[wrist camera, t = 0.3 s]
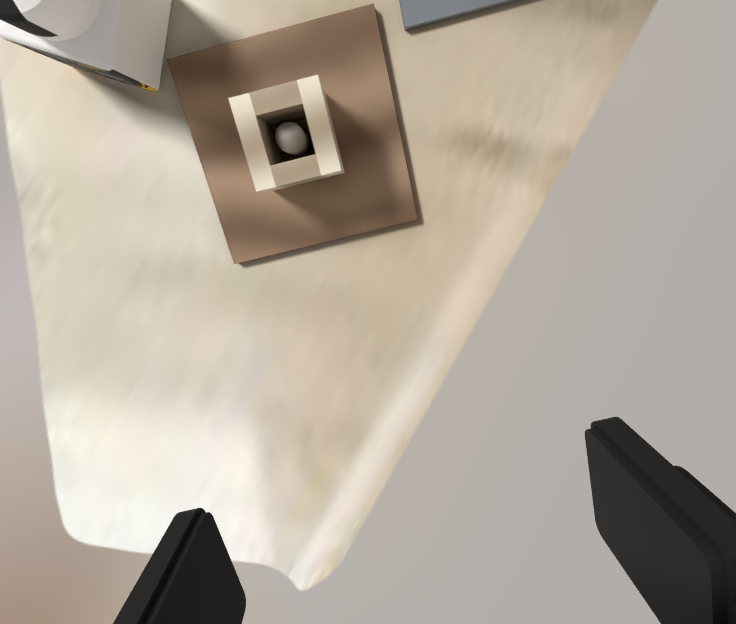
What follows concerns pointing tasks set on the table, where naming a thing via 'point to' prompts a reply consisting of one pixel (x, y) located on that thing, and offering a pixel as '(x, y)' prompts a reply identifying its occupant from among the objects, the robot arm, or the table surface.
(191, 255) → the table surface
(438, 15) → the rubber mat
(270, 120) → the ring block
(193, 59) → the peg stand
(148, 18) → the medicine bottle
